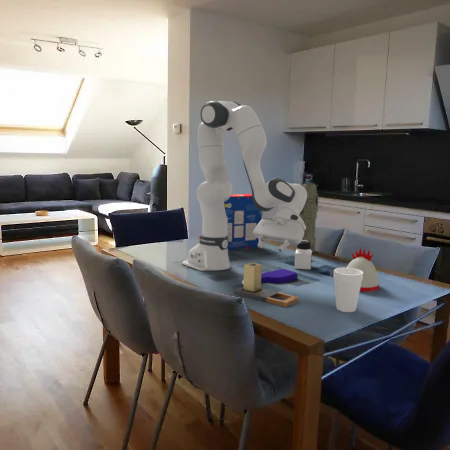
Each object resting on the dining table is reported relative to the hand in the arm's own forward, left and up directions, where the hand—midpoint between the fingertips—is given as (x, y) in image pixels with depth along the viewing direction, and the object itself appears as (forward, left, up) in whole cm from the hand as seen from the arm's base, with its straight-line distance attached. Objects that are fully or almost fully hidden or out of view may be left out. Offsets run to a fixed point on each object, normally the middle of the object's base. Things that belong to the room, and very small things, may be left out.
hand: (269, 248), depth 175 cm
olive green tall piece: (-20, +65, -15) cm, 70 cm away
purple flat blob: (-5, +7, -16) cm, 18 cm away
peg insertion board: (+6, -11, -15) cm, 19 cm away
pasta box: (-52, +45, -15) cm, 71 cm away
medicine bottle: (-5, +35, -15) cm, 39 cm away
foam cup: (+33, -3, -15) cm, 36 cm away
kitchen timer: (+26, +25, -15) cm, 39 cm away
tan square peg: (0, -11, -15) cm, 19 cm away
